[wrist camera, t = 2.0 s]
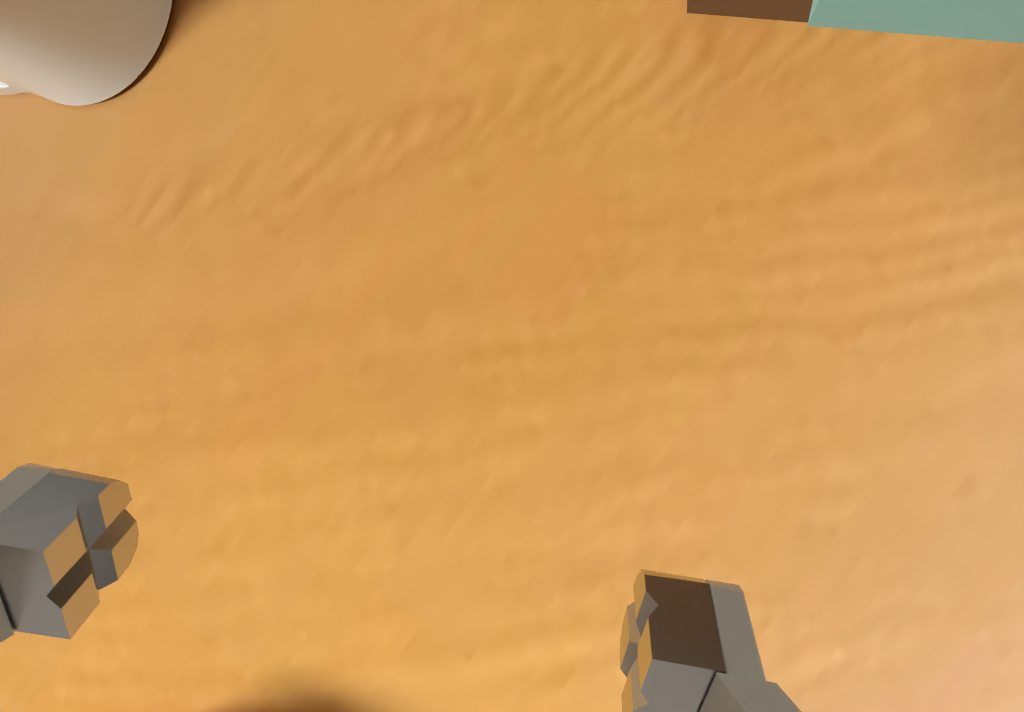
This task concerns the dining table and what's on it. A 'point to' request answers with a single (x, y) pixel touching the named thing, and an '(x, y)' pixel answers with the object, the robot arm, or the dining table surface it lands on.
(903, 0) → the teal rod
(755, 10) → the walnut stand
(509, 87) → the dining table surface
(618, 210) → the dining table surface
